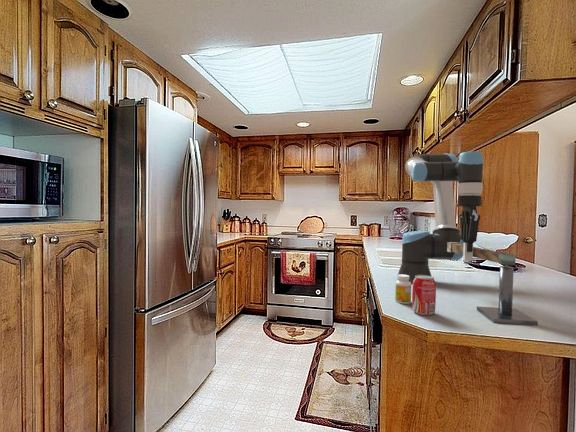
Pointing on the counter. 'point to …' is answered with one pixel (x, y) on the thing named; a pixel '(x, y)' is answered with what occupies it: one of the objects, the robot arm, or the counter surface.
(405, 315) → the counter surface
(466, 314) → the counter surface
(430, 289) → the soda can
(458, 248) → the swing arm
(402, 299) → the supplement bottle
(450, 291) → the counter surface
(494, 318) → the post
